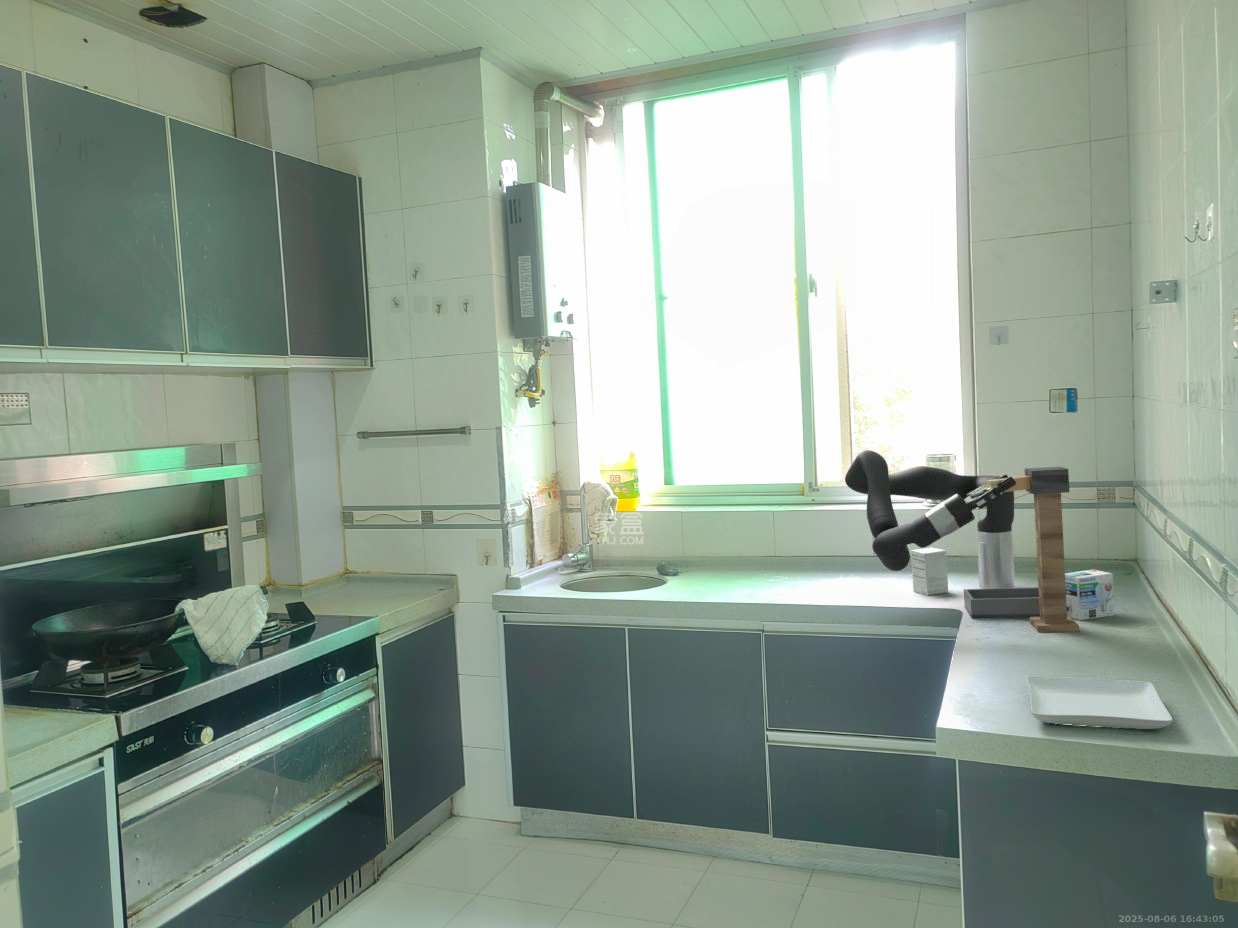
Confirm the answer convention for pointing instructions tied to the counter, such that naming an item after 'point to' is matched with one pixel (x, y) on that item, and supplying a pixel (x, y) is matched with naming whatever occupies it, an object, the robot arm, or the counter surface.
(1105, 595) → the light bulb box
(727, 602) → the counter surface
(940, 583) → the supplement box
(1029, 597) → the tray
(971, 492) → the robot arm
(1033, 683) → the salad plate
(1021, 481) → the tan wooden bar
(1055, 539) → the stand
